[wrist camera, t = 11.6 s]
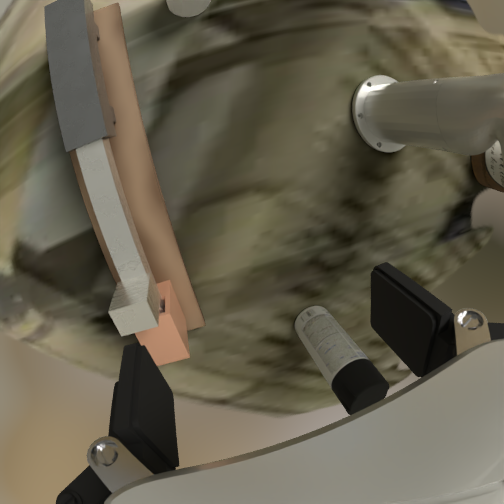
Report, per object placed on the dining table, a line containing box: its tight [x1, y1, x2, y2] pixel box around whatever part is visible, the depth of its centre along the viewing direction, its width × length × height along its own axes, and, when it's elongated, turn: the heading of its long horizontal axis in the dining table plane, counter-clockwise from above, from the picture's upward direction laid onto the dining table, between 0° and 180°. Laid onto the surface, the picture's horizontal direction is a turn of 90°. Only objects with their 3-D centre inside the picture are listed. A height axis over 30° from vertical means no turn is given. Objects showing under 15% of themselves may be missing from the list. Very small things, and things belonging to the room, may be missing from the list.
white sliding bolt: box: [76, 137, 165, 336], centre depth 27 cm, size 4×27×9 cm, turn 12°
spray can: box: [295, 305, 389, 415], centre depth 41 cm, size 7×7×20 cm
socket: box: [135, 280, 190, 366], centre depth 37 cm, size 5×7×8 cm
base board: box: [70, 3, 206, 331], centre depth 34 cm, size 10×48×2 cm, turn 12°
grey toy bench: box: [45, 0, 117, 152], centre depth 24 cm, size 5×18×8 cm, turn 12°
